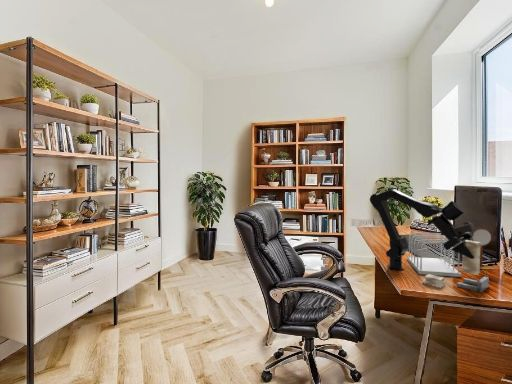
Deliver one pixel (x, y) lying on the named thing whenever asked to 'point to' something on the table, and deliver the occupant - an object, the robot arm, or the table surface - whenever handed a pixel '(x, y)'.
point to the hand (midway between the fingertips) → (475, 257)
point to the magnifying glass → (482, 240)
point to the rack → (480, 287)
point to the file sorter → (432, 264)
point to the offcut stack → (434, 280)
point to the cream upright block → (472, 264)
